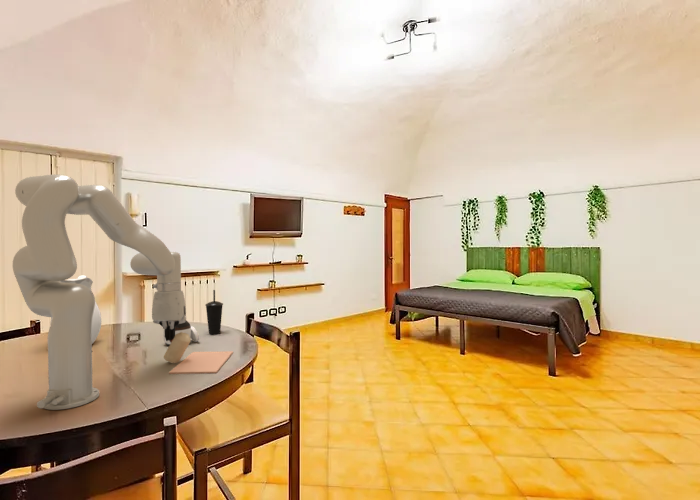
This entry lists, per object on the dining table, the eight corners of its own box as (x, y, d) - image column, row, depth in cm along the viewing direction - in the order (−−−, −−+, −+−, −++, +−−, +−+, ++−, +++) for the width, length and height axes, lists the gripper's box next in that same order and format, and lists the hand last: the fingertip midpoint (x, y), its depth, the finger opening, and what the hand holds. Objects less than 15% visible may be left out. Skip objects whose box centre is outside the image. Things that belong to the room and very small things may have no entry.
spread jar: (160, 345, 155) (160, 317, 155) (181, 338, 166) (180, 312, 166) (184, 348, 151) (184, 319, 151) (203, 341, 162) (203, 314, 162)
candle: (172, 364, 131) (186, 339, 131) (160, 356, 132) (174, 330, 132) (181, 362, 136) (195, 337, 137) (169, 354, 137) (183, 329, 138)
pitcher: (96, 348, 151) (95, 278, 150) (43, 353, 145) (42, 279, 144) (109, 334, 173) (108, 272, 173) (64, 337, 167) (63, 274, 166)
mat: (216, 373, 124) (216, 371, 124) (169, 374, 123) (168, 372, 123) (233, 352, 146) (233, 351, 146) (192, 353, 145) (192, 351, 145)
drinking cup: (204, 332, 177) (204, 289, 176) (222, 330, 180) (221, 288, 180) (206, 336, 170) (205, 291, 169) (224, 334, 173) (223, 290, 173)
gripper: (141, 289, 129) (142, 343, 130) (187, 288, 130) (188, 342, 131) (151, 286, 137) (152, 337, 137) (194, 285, 138) (195, 336, 138)
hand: (170, 339), depth 134 cm, fingers closed
